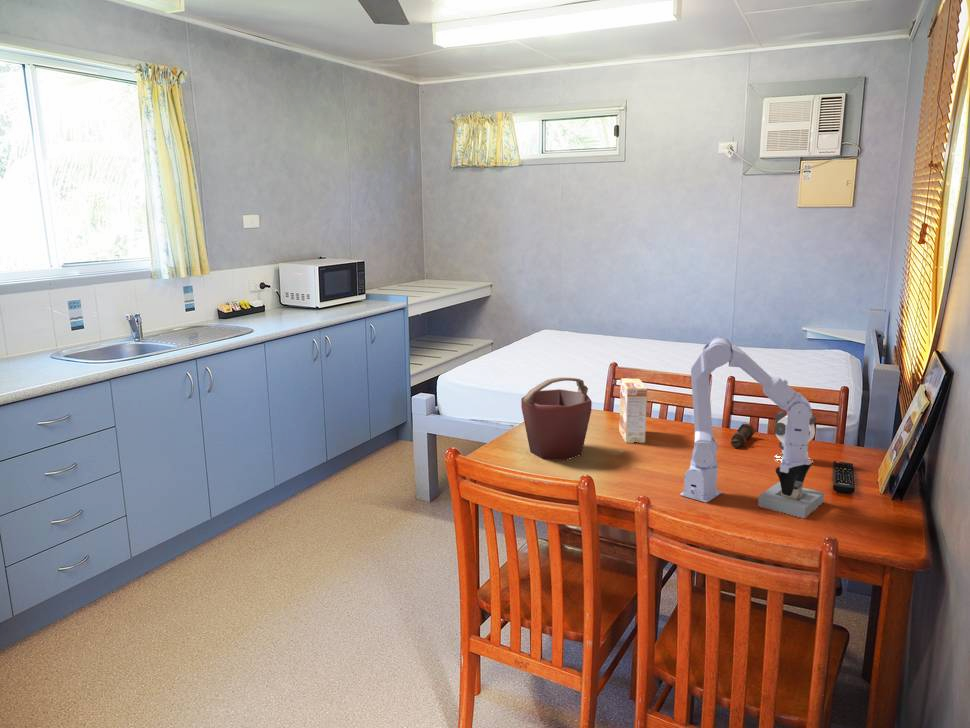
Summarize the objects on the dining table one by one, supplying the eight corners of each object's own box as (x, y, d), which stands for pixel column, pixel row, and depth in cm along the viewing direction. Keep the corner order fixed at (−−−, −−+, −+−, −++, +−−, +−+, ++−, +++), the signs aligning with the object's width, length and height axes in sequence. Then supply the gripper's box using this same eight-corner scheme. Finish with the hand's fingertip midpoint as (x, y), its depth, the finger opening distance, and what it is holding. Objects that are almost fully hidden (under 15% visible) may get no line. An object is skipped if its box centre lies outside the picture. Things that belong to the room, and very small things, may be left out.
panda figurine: (766, 460, 224) (770, 415, 221) (779, 451, 232) (782, 407, 229) (806, 469, 216) (810, 422, 213) (817, 459, 225) (821, 414, 222)
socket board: (804, 519, 181) (805, 508, 180) (758, 506, 189) (758, 495, 188) (823, 502, 191) (824, 492, 190) (778, 491, 199) (779, 481, 198)
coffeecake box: (618, 430, 257) (620, 378, 253) (638, 430, 257) (640, 378, 253) (624, 443, 242) (626, 388, 238) (645, 443, 242) (647, 388, 238)
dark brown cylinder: (732, 453, 236) (743, 440, 249) (746, 449, 233) (757, 435, 246) (724, 438, 237) (736, 425, 249) (738, 433, 234) (749, 420, 246)
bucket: (579, 439, 247) (580, 369, 242) (605, 459, 226) (607, 383, 221) (512, 445, 241) (512, 374, 236) (533, 467, 220) (533, 389, 215)
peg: (795, 507, 187) (797, 486, 186) (780, 503, 190) (782, 482, 189) (801, 503, 190) (802, 482, 189) (786, 499, 193) (787, 478, 191)
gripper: (801, 452, 179) (797, 502, 181) (821, 439, 189) (817, 487, 192) (773, 446, 183) (769, 495, 186) (794, 434, 194) (790, 480, 196)
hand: (791, 490), depth 189 cm, fingers open, 7 cm apart
